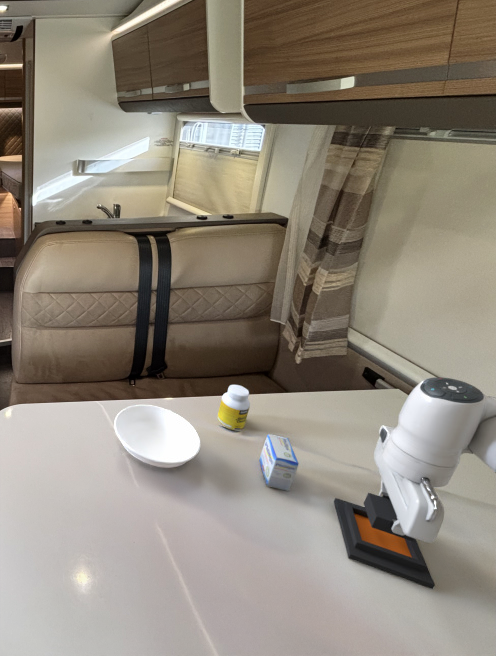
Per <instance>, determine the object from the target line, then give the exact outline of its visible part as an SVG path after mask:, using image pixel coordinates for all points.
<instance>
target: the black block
mask: <svg viewBox="0 0 496 656" xmlns="http://www.w3.org/2000/svg"><path fill="white" fill-rule="evenodd" d="M363 507H365V509H366V512H367V515H368V518H369V521H370V524H371V527H372V528H375V529H378V530H381V531H384V532H387V533H390V534H392V535H395V536H398V537H401V538H404V539H407V540H410V541H413V540H414V538H411V537H409V536H407V535H399V534H396V533H394V532H392V529H391V526H390V523H391V521H392V519H394V520H398V519H397V515H396V513H395V510H394V508H393V505H392V503H391V500H390V499H387V498H384V497H381V496H379V494H374V493H372V492H368V493H367V494H366V497H365V499H364V501H363Z"/></svg>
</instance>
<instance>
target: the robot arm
mask: <svg viewBox="0 0 496 656" xmlns="http://www.w3.org/2000/svg"><path fill="white" fill-rule="evenodd" d="M397 418H398V419H397V420H398V423H397V425H396V427H395V426H389V425H384V424H383V425H381V426H380V428H379V430H378V434H379V437H378V439H377V442H376V445H375V449H374V451H373V459H374V460H373V461H374V463H375V465H376V467H377V471H378V473H379V475H380V477H381V479H380V490H379V493H378V496H381V497H384V498H387V499H390V500H391V503H392V505H393V508H394V510H395V513H396V515H397V519H398V520H394V519H392V521H391V523H390V526H391V529H392V532H394V533H396V534H399V535H407V536H409V537H411V538H414V539H416V541H420V542H423V543H429V544H432V543H434V542H435V541H436V539H437V538H438V536H439V532H440V531H441V527H442V525H443V522H444V519H445V508H444V504H443V502H442V501H441V499H440V497H439V495H438V493H437V490H436V489H435V488H442V487H446V486H447V485H448V484H449V482H450V481H451V479H452V477H453V475H454V473H455V471H456V469H457V468H458V466H459V464H460V463H461V462H460V461H461V456H462V455H463V454H469V455H475V457H477V458H478V459H479V460H480V461H481V462H482V463H483V464H485V465H486V466H487V467H488V468H489V469H490V470H491V471H492V472H494V473H495V474H496V397H495V396H488V395H486V394H485V393H483V391H481V389H479V388H477V387H476V386H474V385H473V384H470V383H468V382H465V381H463V380H459V379H455V378H451V377H450V378H449V377H441V376H440V377H439V376H437V377H428V378H425V379H423V380H422V381H421V382H419V383H418V384H417V385H416V386H415V387H414V388H413V389H412V390H411V392H410V393H409V394H408V396H407V398H406V399H405V401H404V403H403V405H402V407H401V409H400V411H399V413H398V417H397Z"/></svg>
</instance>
